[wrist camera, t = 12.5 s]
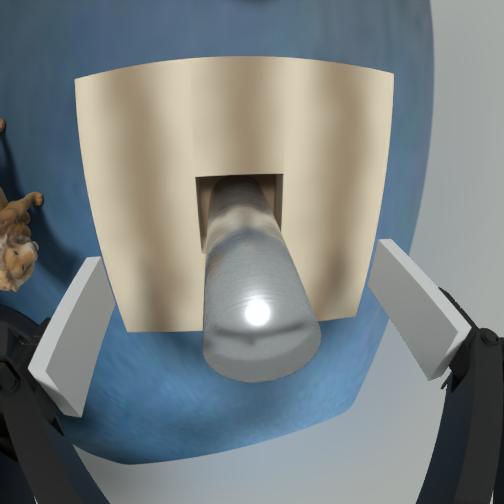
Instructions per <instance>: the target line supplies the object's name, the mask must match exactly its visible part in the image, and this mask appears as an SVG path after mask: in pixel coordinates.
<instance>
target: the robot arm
mask: <svg viewBox="0 0 504 504" xmlns="http://www.w3.org/2000/svg"><path fill="white" fill-rule="evenodd" d="M368 287H369V288H370V290H371V291H372V292H373V294H374V295H375V297H376V298H377V300H378V301H379V303H380V304H381V306H382V307H383V309H384V310H385V312H386V313H387V315H388V316H389V318H390V319H391V321H392V322H393V324H394V325H395V327H396V329H397V330H398V331H399V333H400V335H401V336H402V338H403V340H404V341H405V343H406V344H407V346H408V347H409V349H410V351H411V352H412V354H413V356H414V357H415V359H416V360H417V362H418V364H419V365H420V367H421V369H422V371H423V372H424V374H425V376H426V377H427V379H428V381H430V380H433V379H435V378H438V377H440V376H442V375H443V374H444V372H445V370H446V369H447V367H448V366H449V367H450V369H451V371H452V372H451V373H450V375H449V376H448V378H447V379H446V380H445V382H444V383H443V385H442V387H441V389H443V388H444V387H445V386H446V384H447V389H446V397H445V403H444V408H443V414H442V418H441V422H440V427H439V432H438V435H437V440H436V443H435V447H434V451H433V454H432V458H431V461H430V464H429V468H428V471H427V474H426V477H425V480H424V483H423V486H422V488H421V492H420V494H419V497H418V499H417V502H416V504H490V501H491V497H492V492H493V504H504V338H503V337H501V338H499V337H498V336H497V335H496V334H495V333H494V332H493V331H491V330H490V329H487V328H481V329H479V328H478V327H477V326H476V325H475V323H474V322H473V321H472V320H471V319H470V317H469V316H468V315H467V314H466V313H465V311H464V310H463V309H462V308H460V306H459V305H458V303H457V302H455V300H454V299H453V298H452V297H451V295H450V294H449V293H447V292H446V291H444V290H443V289H442V288H440V287H436V285H435V284H434V283H433V282H432V281H431V280H430V279H429V278H428V277H427V276H426V274H425V273H424V272H423V271H422V270H421V269H420V268H419V267H418V266H417V265H416V264H415V263H414V262H413V261H412V260H411V259H410V258H409V257H408V256H407V255H406V254H405V253H404V252H403V251H402V250H401V249H400V248H399V247H398V246H397V245H396V244H395V243H394V242H393V241H392V240H391V239H379V240H378V243H377V248H376V252H375V257H374V261H373V265H372V269H371V274H370V278H369V282H368ZM114 306H115V301H114V298H113V295H112V292H111V288H110V285H109V282H108V279H107V276H106V272H105V269H104V265H103V262H102V258H101V257H87V258H86V260H85V261H84V263H83V265H82V266H81V268H80V269H79V271H78V273H77V274H76V276H75V278H74V279H73V281H72V283H71V284H70V286H69V288H68V290H67V291H66V293H65V295H64V297H63V298H62V300H61V302H60V304H59V306H58V307H57V309H56V311H55V313H54V315H53V317H52V318H46V319H45V320H44V321H43V322H42V323H41V324H40V325H39V326H38V325H36V324H35V323H34V322H33V321H31V320H30V319H28V318H27V317H25V316H24V315H22V314H20V313H19V312H17V311H15V310H13V309H10V308H7V307H4V306H0V504H36V502H35V499H36V501H37V502H38V504H110V503H109V501H108V500H107V499H106V497H105V496H104V495H103V493H102V492H101V490H100V489H99V487H98V486H97V484H96V483H95V481H94V480H93V478H92V477H91V475H90V474H89V472H88V471H87V469H86V467H85V466H84V464H83V462H82V461H81V459H80V457H79V456H78V454H77V452H76V450H75V449H74V447H73V445H72V443H71V441H70V439H69V437H68V436H67V434H66V432H65V430H64V428H63V426H62V424H61V422H60V420H59V418H58V417H57V415H56V410H57V407H58V408H59V409H60V410H61V411H62V412H63V413H64V415H69V416H75V417H82V413H83V409H84V405H85V401H86V397H87V393H88V389H89V385H90V382H91V378H92V374H93V371H94V367H95V364H96V361H97V357H98V354H99V351H100V348H101V344H102V341H103V338H104V335H105V332H106V329H107V326H108V323H109V320H110V318H111V315H112V312H113V309H114ZM33 494H34V495H33ZM34 497H35V498H34Z"/></svg>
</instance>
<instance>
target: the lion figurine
mask: <svg viewBox="0 0 504 504" xmlns="http://www.w3.org/2000/svg"><path fill="white" fill-rule="evenodd" d="M4 127H5V122H4V120H3V119H1V118H0V132H2V131H3V129H4ZM42 201H43V195H42V194H41V193H39V192H32V193H30V194H27V195H26V196H25V198H23V199H21V200H18V201H11V202H9V203H8V201H7V199H6V197H5V194H4V192H3V190H2V188H1V187H0V289H1V290H4V291H8V290H13V291H15V292H17V290H18V289H19V287H20V285H22V284H23V283H24V282H26V281H27V280H28V279H29V278H30V277H31V276H32V274H33V271H34V266H35V263H34V261H36V260H37V257H38V256H37V251H38V249H39V248H38V245H37V243H36V242H32V241H31V239H30V236H31V231H30V229H29V227H28V226H27V225H26V224H28V223H29V221H30V220H31V217H30V215H29V214H28V212H27V210H28V209H29V207H30V205H31V204H34V205H35V206H38V205H41V204H42Z"/></svg>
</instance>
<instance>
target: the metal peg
mask: <svg viewBox="0 0 504 504" xmlns="http://www.w3.org/2000/svg"><path fill="white" fill-rule="evenodd" d="M320 343H321V330H320V326H319V324H318V321H317V319H316V316H315V314H314V311H313V309H312V306H311V304H310V301H309V299H308V296H307V294H306V291H305V289H304V286H303V284H302V281H301V279H300V277H299V274H298V272H297V269H296V267H295V265H294V262H293V260H292V257H291V255H290V253H289V250H288V248H287V246H286V243H285V241H284V239H283V236H282V234H281V232H280V229H279V227H278V225H277V222H276V220H275V218H274V215H273V213H272V211H271V209H270V206H269V204H268V202H267V199H266V197H265V195H264V193H263V190H262V188H261V186H260V185H259V184H258V182H257V181H255V180H254V179H253V178H251V177H249V176H247V175H228V176H225V177H223V178H222V179H220V180H219V181H218V182H217V183H216V184H215V185H214V187H213V188H212V190H211V193H210V199H209V212H208V227H207V242H206V260H205V280H204V304H203V338H202V350H203V355H204V358H205V360H206V362H207V363H208V365H209V366H210V367H211V368H212V369H213V370H214V371H216V372H217V373H219V374H220V375H222V376H224V377H227V378H229V379H233V380H237V381H242V382H265V381H271V380H276V379H279V378H282V377H285V376H287V375H290V374H292V373H294V372H296V371H297V370H299V369H300V368H302V367H303V366H305V365H306V364H307V363H308V362H309V361H310V360H311V359H312V358H313V357H314V355H315V354H316V352H317V350H318V348H319V346H320Z"/></svg>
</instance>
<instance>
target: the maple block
mask: <svg viewBox="0 0 504 504" xmlns="http://www.w3.org/2000/svg"><path fill="white" fill-rule="evenodd" d="M393 83H394V74H393V73H388V72H384V71H379V70H375V69H370V68H365V67H359V66H354V65H348V64H341V63H334V62H327V61H319V60H309V59H299V58H285V57H262V56H228V57H205V58H191V59H180V60H171V61H163V62H156V63H149V64H142V65H136V66H131V67H125V68H120V69H115V70H111V71H106V72H102V73H98V74H94V75H90V76H86V77H82V78H78V79H75V91H76V107H77V119H78V129H79V138H80V146H81V154H82V161H83V167H84V173H85V179H86V185H87V190H88V196H89V201H90V206H91V210H92V215H93V219H94V224H95V228H96V232H97V236H98V240H99V244H100V248H101V252H102V255H103V259H104V263H105V266H106V269H107V273H108V276H109V280H110V283H111V286H112V289H113V292H114V295H115V298H116V301H117V304H118V307H119V310H120V313H121V316H122V319H123V321H124V324H125V327H126V330H127V332H179V331H203V304H204V280H205V260H206V242H207V227H208V212H209V199H210V193H211V190H212V188H213V187H214V185H215V184H216V183H217V182H218V181H219V180H220V179H222V178H223V177H225V176H228V175H247V176H249V177H251V178H253V179H254V180H255V181H257V182H258V184H259V185H260V186H261V188H262V190H263V193H264V195H265V197H266V199H267V202H268V204H269V206H270V209H271V211H272V213H273V215H274V218H275V220H276V222H277V225H278V227H279V229H280V232H281V234H282V236H283V239H284V241H285V243H286V246H287V248H288V250H289V253H290V255H291V257H292V260H293V262H294V265H295V267H296V269H297V272H298V274H299V277H300V279H301V281H302V284H303V286H304V289H305V291H306V294H307V296H308V299H309V301H310V304H311V306H312V309H313V311H314V314H315V316H316V319H317V321H325V320H333V319H341V318H348V317H355V316H356V314H357V310H358V306H359V303H360V299H361V295H362V291H363V287H364V284H365V279H366V275H367V271H368V267H369V263H370V258H371V254H372V249H373V244H374V240H375V235H376V230H377V224H378V219H379V213H380V208H381V202H382V196H383V189H384V182H385V175H386V168H387V160H388V151H389V142H390V131H391V119H392V105H393Z"/></svg>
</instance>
